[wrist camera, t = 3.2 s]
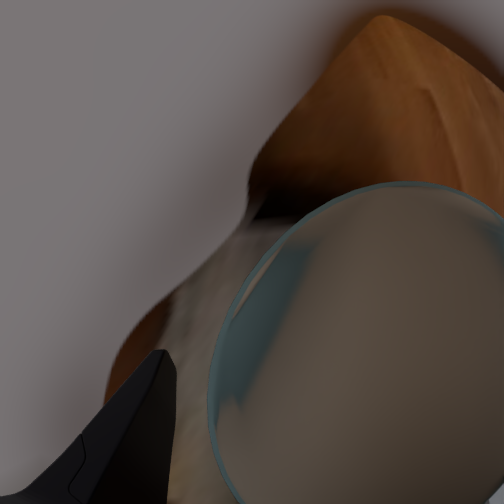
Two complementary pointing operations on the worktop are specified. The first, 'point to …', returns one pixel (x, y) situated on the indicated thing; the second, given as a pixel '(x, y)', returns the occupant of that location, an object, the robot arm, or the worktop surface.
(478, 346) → the birch peg
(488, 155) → the worktop surface
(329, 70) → the worktop surface
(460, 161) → the worktop surface
